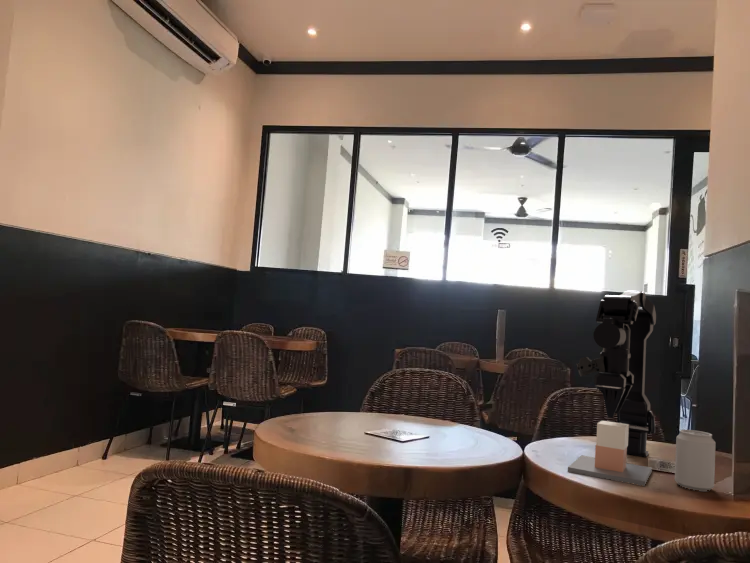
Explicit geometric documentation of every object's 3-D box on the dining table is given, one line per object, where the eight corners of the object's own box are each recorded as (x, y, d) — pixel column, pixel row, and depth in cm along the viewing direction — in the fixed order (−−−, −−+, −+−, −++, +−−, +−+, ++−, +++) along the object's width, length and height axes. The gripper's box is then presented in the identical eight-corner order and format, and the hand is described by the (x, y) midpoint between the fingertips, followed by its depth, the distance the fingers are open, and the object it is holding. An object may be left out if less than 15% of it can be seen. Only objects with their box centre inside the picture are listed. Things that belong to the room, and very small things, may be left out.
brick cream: (600, 441, 139) (601, 420, 139) (627, 445, 136) (628, 424, 136) (596, 445, 134) (597, 423, 134) (624, 449, 131) (625, 427, 131)
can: (719, 494, 121) (721, 436, 122) (680, 489, 123) (682, 432, 124) (706, 484, 129) (708, 430, 129) (670, 480, 130) (672, 426, 131)
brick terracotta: (599, 462, 139) (599, 441, 139) (626, 467, 136) (627, 445, 136) (594, 467, 134) (595, 445, 134) (622, 472, 130) (623, 449, 131)
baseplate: (581, 459, 145) (581, 455, 145) (651, 471, 137) (651, 467, 137) (567, 471, 132) (567, 467, 132) (644, 486, 124) (644, 481, 124)
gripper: (588, 345, 148) (585, 406, 147) (572, 345, 132) (569, 414, 131) (635, 349, 143) (632, 413, 142) (625, 350, 127) (621, 422, 126)
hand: (613, 415), depth 135 cm, fingers open, 9 cm apart
